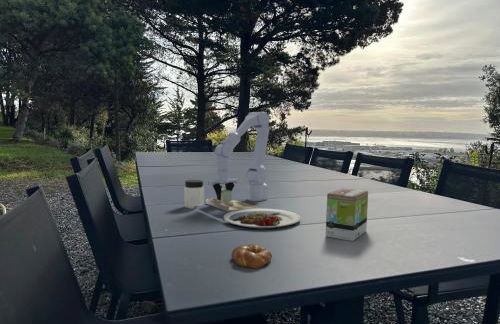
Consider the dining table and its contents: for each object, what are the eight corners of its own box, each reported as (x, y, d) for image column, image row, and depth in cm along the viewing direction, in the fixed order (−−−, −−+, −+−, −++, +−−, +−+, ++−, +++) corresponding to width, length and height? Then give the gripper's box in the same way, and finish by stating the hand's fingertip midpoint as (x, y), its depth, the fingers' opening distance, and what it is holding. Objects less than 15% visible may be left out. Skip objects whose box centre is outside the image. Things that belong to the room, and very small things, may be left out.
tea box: (354, 242, 118) (356, 195, 116) (324, 237, 123) (325, 193, 122) (367, 231, 130) (368, 189, 129) (339, 227, 136) (340, 187, 134)
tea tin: (224, 201, 176) (224, 188, 175) (231, 203, 170) (231, 191, 170) (216, 202, 174) (216, 189, 173) (223, 204, 168) (223, 191, 167)
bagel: (275, 269, 95) (275, 255, 94) (232, 270, 94) (232, 256, 93) (269, 254, 107) (269, 241, 106) (231, 254, 106) (231, 242, 105)
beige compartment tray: (235, 201, 183) (235, 195, 182) (258, 209, 166) (258, 202, 166) (206, 205, 174) (206, 199, 174) (226, 213, 157) (226, 206, 157)
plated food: (260, 209, 167) (260, 202, 166) (316, 221, 145) (316, 213, 145) (207, 220, 146) (207, 212, 145) (263, 236, 124) (263, 226, 124)
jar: (207, 207, 170) (207, 181, 169) (191, 209, 165) (191, 182, 164) (196, 204, 177) (196, 179, 176) (181, 206, 172) (181, 180, 171)
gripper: (213, 171, 164) (213, 202, 165) (241, 170, 171) (241, 199, 173) (206, 170, 170) (206, 199, 171) (233, 168, 177) (233, 196, 179)
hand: (223, 199), depth 172 cm, fingers closed on tea tin, 4 cm apart
